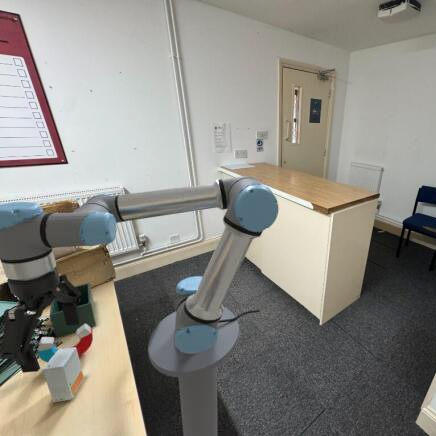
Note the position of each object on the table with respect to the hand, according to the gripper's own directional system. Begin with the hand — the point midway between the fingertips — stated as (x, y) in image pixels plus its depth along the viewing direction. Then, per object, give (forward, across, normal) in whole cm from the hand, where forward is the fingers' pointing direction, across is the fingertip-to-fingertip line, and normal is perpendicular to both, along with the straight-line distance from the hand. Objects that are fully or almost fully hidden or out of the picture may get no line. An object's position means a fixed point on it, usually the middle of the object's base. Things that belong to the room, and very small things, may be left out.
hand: (54, 344), depth 58 cm
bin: (+16, -27, -14) cm, 35 cm away
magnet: (+17, -11, -6) cm, 21 cm away
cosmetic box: (+17, 0, 0) cm, 17 cm away
